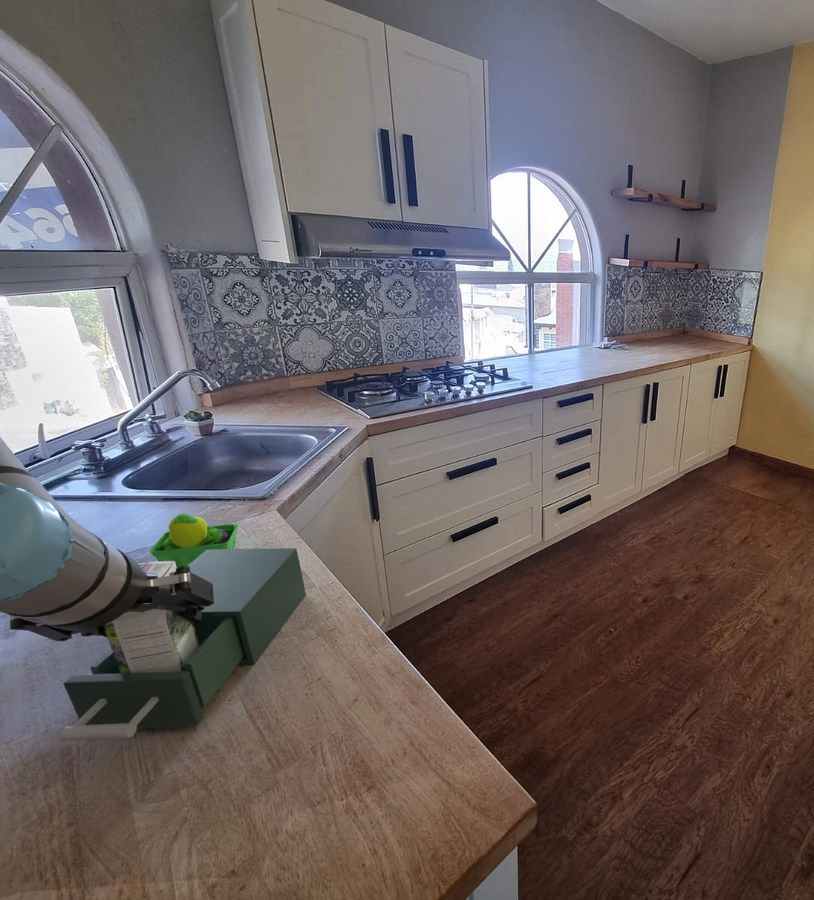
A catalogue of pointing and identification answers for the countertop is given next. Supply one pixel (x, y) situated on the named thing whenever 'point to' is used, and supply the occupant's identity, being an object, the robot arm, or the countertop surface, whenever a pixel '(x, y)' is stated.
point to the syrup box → (152, 635)
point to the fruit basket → (192, 539)
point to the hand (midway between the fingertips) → (162, 620)
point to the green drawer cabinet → (252, 591)
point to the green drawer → (153, 688)
